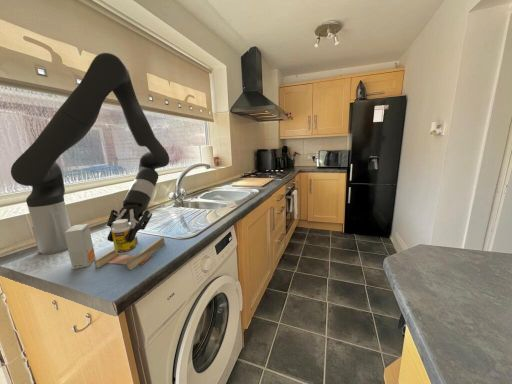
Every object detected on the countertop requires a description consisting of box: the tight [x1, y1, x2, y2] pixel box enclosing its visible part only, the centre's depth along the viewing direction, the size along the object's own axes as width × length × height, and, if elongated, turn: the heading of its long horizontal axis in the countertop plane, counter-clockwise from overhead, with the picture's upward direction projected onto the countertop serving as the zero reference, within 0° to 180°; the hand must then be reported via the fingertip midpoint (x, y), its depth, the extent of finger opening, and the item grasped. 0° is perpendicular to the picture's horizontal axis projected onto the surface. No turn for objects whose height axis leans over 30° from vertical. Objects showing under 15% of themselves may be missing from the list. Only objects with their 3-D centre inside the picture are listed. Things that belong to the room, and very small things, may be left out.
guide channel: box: [93, 235, 165, 271], centre depth 70 cm, size 15×17×2 cm
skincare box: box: [64, 223, 96, 270], centre depth 64 cm, size 6×4×12 cm
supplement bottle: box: [110, 219, 136, 255], centre depth 66 cm, size 6×6×10 cm
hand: (119, 241), depth 64 cm, fingers closed on supplement bottle, 5 cm apart
